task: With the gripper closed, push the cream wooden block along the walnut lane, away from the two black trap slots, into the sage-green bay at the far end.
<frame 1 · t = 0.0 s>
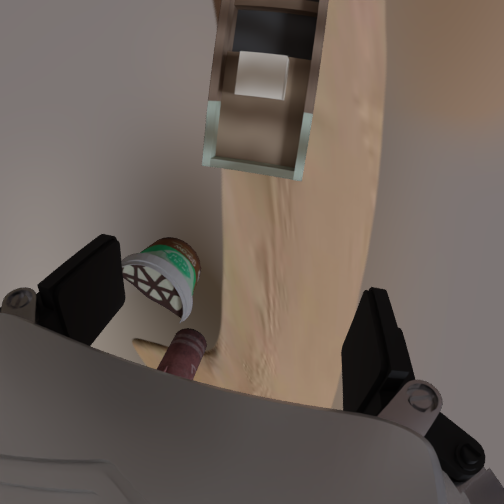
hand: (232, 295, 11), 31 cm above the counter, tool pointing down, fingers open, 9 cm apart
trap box: (271, 54, 33), on the counter
can: (192, 338, 56), on the counter
food container: (181, 251, 48), on the counter
block: (265, 77, 32), point 2 cm above the counter, touching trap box
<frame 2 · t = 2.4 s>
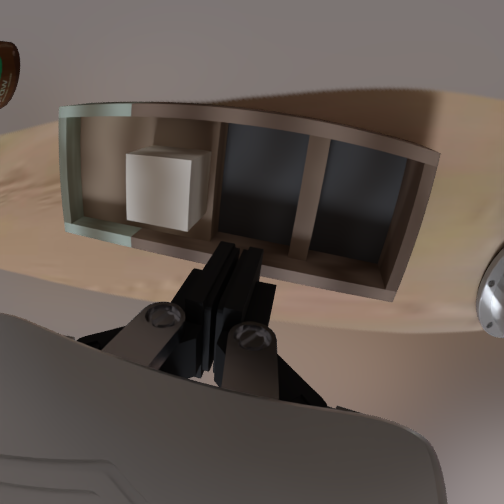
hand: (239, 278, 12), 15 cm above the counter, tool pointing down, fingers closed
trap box: (229, 177, 26), on the counter
food container: (11, 81, 25), on the counter
block: (179, 178, 24), point 2 cm above the counter, touching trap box
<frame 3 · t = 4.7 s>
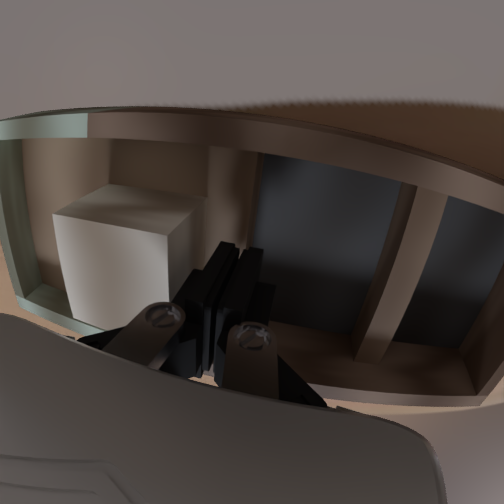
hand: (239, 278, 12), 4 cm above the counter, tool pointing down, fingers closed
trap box: (263, 236, 16), on the counter
block: (154, 240, 14), point 2 cm above the counter, touching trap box
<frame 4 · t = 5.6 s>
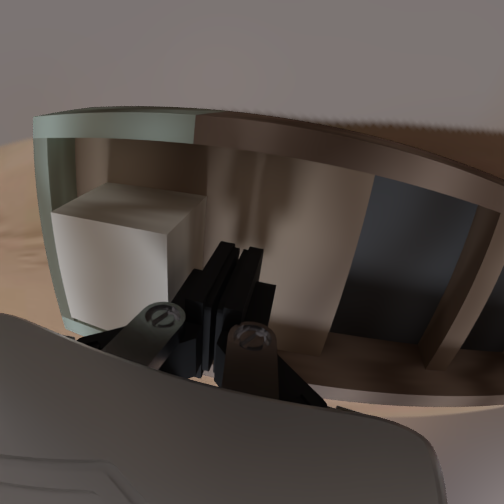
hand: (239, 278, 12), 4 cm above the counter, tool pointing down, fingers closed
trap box: (352, 254, 15), on the counter
block: (153, 239, 14), point 3 cm above the counter, touching gripper
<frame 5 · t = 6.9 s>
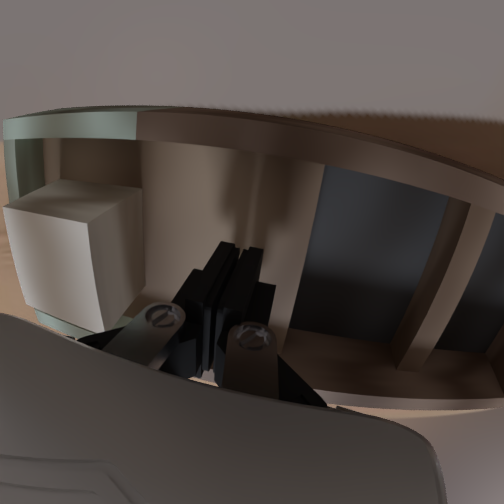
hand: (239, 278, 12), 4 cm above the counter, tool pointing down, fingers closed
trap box: (313, 248, 15), on the counter
block: (100, 231, 14), point 2 cm above the counter, touching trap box
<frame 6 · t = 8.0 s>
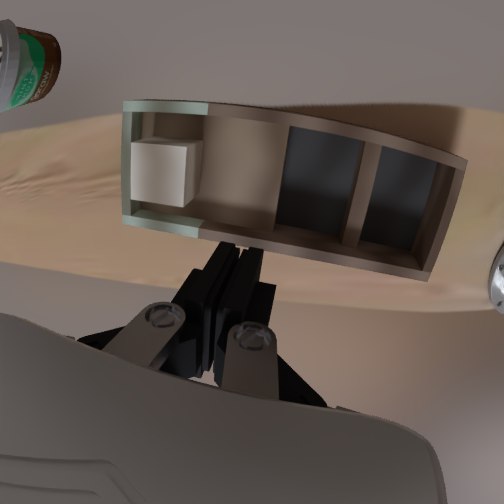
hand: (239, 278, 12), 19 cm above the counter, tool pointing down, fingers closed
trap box: (288, 174, 29), on the counter
food container: (49, 74, 27), on the counter
block: (175, 164, 28), point 2 cm above the counter, touching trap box
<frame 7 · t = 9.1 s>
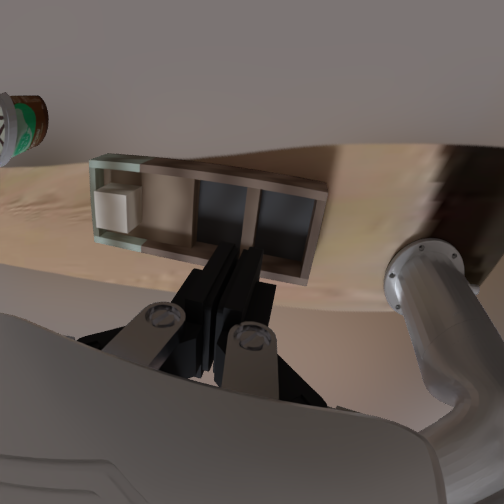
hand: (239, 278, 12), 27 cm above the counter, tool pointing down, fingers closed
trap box: (202, 207, 41), on the counter
food container: (41, 127, 39), on the counter
block: (126, 202, 40), point 2 cm above the counter, touching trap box
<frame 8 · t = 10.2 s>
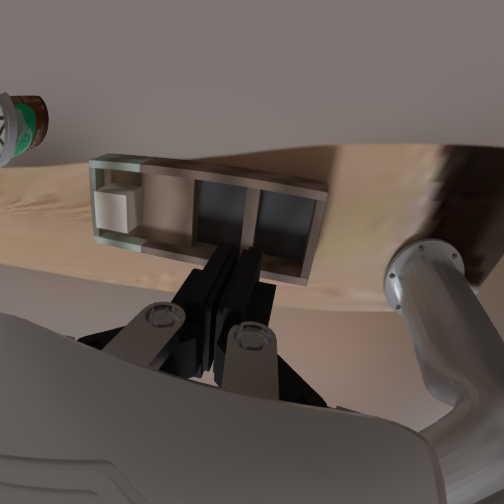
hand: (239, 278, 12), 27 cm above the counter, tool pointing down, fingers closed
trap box: (202, 207, 41), on the counter
food container: (41, 127, 39), on the counter
block: (126, 202, 40), point 2 cm above the counter, touching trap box
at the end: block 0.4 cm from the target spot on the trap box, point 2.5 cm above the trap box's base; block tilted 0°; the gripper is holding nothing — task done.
